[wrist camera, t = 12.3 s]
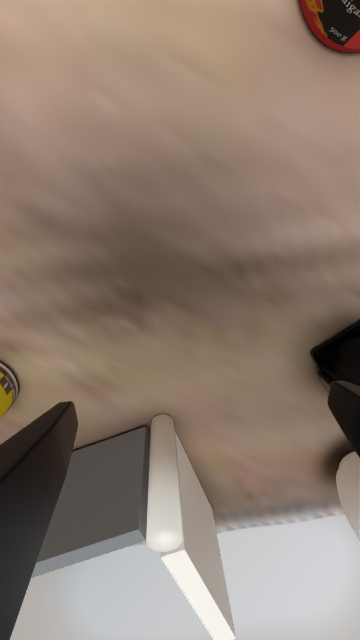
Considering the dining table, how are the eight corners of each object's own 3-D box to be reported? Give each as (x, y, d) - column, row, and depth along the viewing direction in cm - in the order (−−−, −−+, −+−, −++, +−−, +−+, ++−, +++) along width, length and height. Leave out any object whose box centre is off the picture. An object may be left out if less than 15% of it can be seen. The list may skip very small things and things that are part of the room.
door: (142, 420, 25) (133, 521, 16) (153, 441, 26) (150, 547, 17) (-7, 472, 25) (-90, 594, 17) (9, 491, 26) (-61, 616, 18)
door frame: (169, 411, 25) (175, 523, 15) (214, 507, 30) (239, 637, 20) (147, 418, 25) (140, 535, 16) (196, 513, 30) (213, 645, 20)
